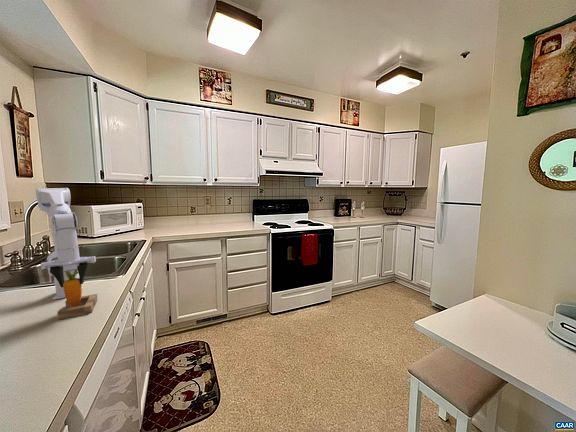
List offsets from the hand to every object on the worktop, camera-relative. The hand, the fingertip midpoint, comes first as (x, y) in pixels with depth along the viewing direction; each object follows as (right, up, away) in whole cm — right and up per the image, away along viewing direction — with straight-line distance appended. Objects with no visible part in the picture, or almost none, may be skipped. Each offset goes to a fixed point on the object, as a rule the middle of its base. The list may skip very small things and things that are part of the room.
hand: (72, 284), depth 88 cm
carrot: (0, -9, +1) cm, 9 cm away
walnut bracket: (0, -9, +1) cm, 10 cm away
